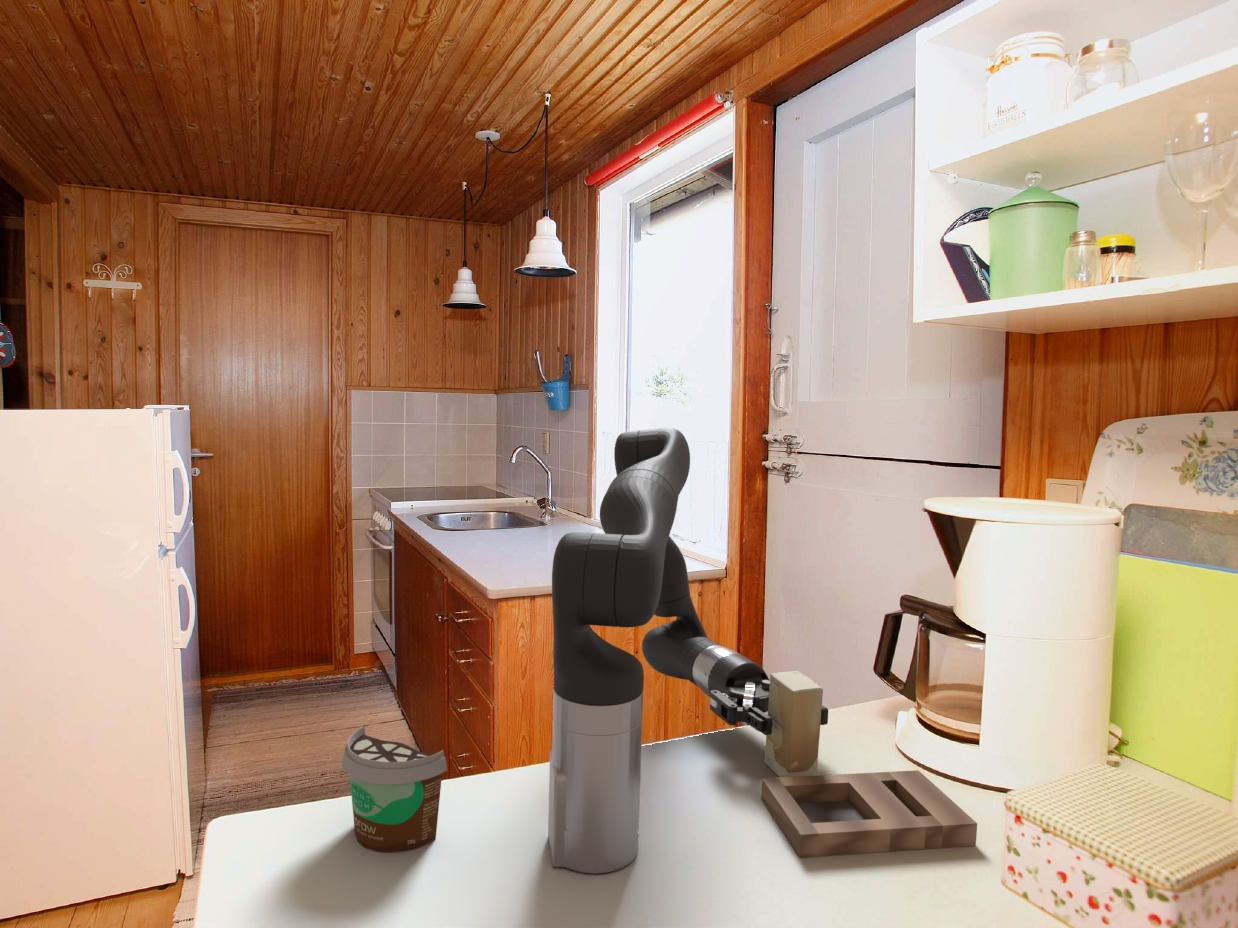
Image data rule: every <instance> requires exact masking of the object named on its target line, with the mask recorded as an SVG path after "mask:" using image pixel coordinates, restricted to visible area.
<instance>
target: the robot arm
mask: <svg viewBox="0 0 1238 928" xmlns="http://www.w3.org/2000/svg"><path fill="white" fill-rule="evenodd" d="M613 453H614V456H613V457H614V458H613V459H614V467H615V473H616V477H614V479H613V480H612V481H611V483H610V484H609V486H608V487H607V490H606V492H605V494H604V496H603V498H602V500H601V503H600V507H599V521H600V525H601V528H602V530H603V532H604V533H600V532H599V533H597V532H594V533H592V532H569V533H565V534H564V535H563V536H562V537H561V538H560V539H559V540H558V542H557V544H556V547H555V551H554V554H553V560H552V570H551V598H552V599H551V600H552V621H553V622H552V625H553V626H552V627H553V628H552V629H553V632H552V633H553V657H552V658H553V696H552V697H553V698H552V699H553V700H552V701H553V702H552V703H553V704H552V706H553V707H552V739H551V741H552V742H551V744H552V746H551V748H552V749H551V750H550V752H549V773H548V774H549V780H548V781H549V783H548V788H549V789H548V820H547V823H548V825H547V826H548V829H547V831H548V832H547V836H548V837H547V838H548V845H549V852H550V859H551V866H552V867H553V868H567V869H569V870H572V871H575V872H578V873H585V874H586V873H587V874H605V873H610V872H615V871H617V870H620V869H623V868H624V867H626V866H628V865H629V864H631V863H632V862H633V861H634V860H635V858H636V857H637V855H638V851H639V837H640V809H641V808H640V803H641V778H642V777H641V775H642V774H641V773H642V772H641V771H642V770H641V767H642V740H643V739H642V737H643V712H644V711H643V708H644V707H643V705H644V684H645V682H644V681H645V675H644V674H645V672H644V666H643V664H642V662H641V661H640V660H639V659H638V657H636V656H635V655H633V654H632V653H630V652H628V651H626V650H623V649H622V648H620V647H618V646H616V645H613V644H612V643H609V641H606V639H603V638H602V637H601V636H600V635H598V633H596V632H595V630H594V629H593V628H592V627H591V626H599V627H600V626H601V627H613V628H618V627H619V628H637V627H642V626H645V625H646V624H648V623H649V622H650V620H652V618H653V617H654V616H655V617H660V618H676V619H675V620H673V621H669V622H667V623H665V624H661V625H660V626H656V627H654V628H651V629H650V630H648V631H647V632H646V633H645V634H644V637H643V639H642V642H641V648H642V654H643V657H644V660H646V662H647V664H648V665H649V666H650V667H651V668H652V669H653V670H655V672H657V673H660V674H662V675H664V676H667V677H672V678H676V679H680V680H686V681H690V682H691V683H692V684H693V685H695V686H696V687H698V688H699V689H700V690H701V691H702V693H704V694H705V695H706V696H707V697H709V698H710V701H709V710H710V711H711V712H713V713H714V714H715V715H716V716H717V717H719V718H720V720H722V721H723V722H725V723H726V724H727V725H729V726H737V724H738V722H740V723H741V725H743V726H750V727H752V728H753V729H754V730H756V731H757V732H760V733H761V734H762V735H764V736H766V735H770V734H772V718H771V717H770V716H768V714H767V713H768V703H769V688H770V677H768V675H767V672H766V671H765V670H764V669H763V667H762V666H761V665H759V664H758V663H756V662H755V661H752V660H751V659H749V658H747V657H746V656H744V655H743V654H740V653H738V652H737V651H735V650H733V649H732V648H731V649H730V648H729V647H725V646H722V645H721V644H719V643H717V642H716V641H714V640H713V639H711V638H709V637H708V636H707V635H708V634H707V633H706V630H705V628H704V625H703V624H702V622H701V620H700V617H699V616H698V613H697V610H696V608H695V606H694V602H693V600H692V596H691V591H690V583H689V576H688V569H687V568H688V567H687V564H686V560H685V556H684V555H683V553H682V551H681V550H680V548H679V547H678V544H676V543H675V541H674V540H673V538H672V537H671V536H670V534H671V530H672V528H673V525H674V522H675V518H676V515H677V514H676V513H677V509H678V501H679V497H680V493H681V492H682V490H683V489H684V487H685V484H686V482H687V480H688V476H689V475H690V474H689V473H690V467H691V453H690V446H689V443H688V441H687V439H686V437H685V436H684V434H683V433H682V431H680V430H678V429H676V428H674V427H673V428H672V427H660V428H653V429H642V430H634V431H633V430H632V431H626V432H625V431H623V432H621V433H620V434H619V435H618V436H617V438H616V439H615V444H614V451H613ZM828 720H829V709H828V707H826V706H825V705H824V704H822V709H821V723H820V726H825V725H828Z"/></svg>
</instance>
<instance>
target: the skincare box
mask: <svg viewBox="0 0 1238 928" xmlns="http://www.w3.org/2000/svg"><path fill="white" fill-rule="evenodd" d="M769 680H770V688H769V703H768V712H767V715H768V716H770V717H771V718H772V734H770V735H765V748H764V749H765V750H764V763H765V764H766V765H767V766H768V767H769V768H770V769H771V770H772V771H773V772H774V773H775V774H776V775H777V776H778V778H780V777H799V776H818V775H817V773H818V762H819V761H818V760H819V748H820V747H819V745H820V734H821V733H820V732H821V725H820V723H821V709H822V705H823V695H824V693H823V692H824V688H823V687H822V686H820V685H819V684H818V683H816V682H815V681H814V680H813V679H811V678H810V677H808V676H807V675H805V674H804V673H802V672H801V671H800V670H793V671H792V670H791V671H780V672H771V673H770V674H769Z"/></svg>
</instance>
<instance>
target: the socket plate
mask: <svg viewBox="0 0 1238 928" xmlns="http://www.w3.org/2000/svg"><path fill="white" fill-rule="evenodd" d="M760 790H761V791H760V792H761V793H760V799H761V800H762V802H763V805H764V806H765V807H766V808H767V810H768V811H769V813H770V815H771V816H772V817H773V819H774V821H775V822H776V824H777V825H778V827H779V828H780V830H781V831H782V834H784V836H785V838H786V840H787V841H788V842H789V844H790V845H791V847H792V848H793V849H794V851H795V853H796V854H797V856H798V857H799V858H801V859H802V858H811V857H816V858H817V857H826V856H827V857H828V856H829V857H830V856H841V855H843V856H844V855H858V854H873V853H884V852H886V853H887V852H901V851H903V852H904V851H915V850H916V851H917V850H929V849H930V850H931V849H943V848H944V849H946V848H956V847H957V848H958V847H971V846H974V847H975V846H977V835H978V834H977V832H978V831H977V830H978V823H977V822H976V821H975V820H974V819H973V817H971V816H970V815H969V814H968V813H966V812H965V811H964V810H963V809H962V807H960V806H959V805H958V804H957V803H955V802H954V801H953V800H952V799H951V798H950V797H949V796H948V795H947V794H946V793H944V792H943V791H942V790H941V789H940V788H939V787H938V786H936V785H935V784H934V783H933V782H932V781H931V780H930V779H929V778H928V777H926V776H925V775H924V773H922V772H921V771H920V770H917V769H916V770H901V771H900V770H899V771H897V770H896V771H882V772H881V771H880V772H862V773H844V774H843V773H842V774H841V773H840V774H825V775H823V774H821V775H819V774H818V775H817V776H799V777H763V778H761V789H760Z"/></svg>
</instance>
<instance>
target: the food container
mask: <svg viewBox="0 0 1238 928" xmlns="http://www.w3.org/2000/svg"><path fill="white" fill-rule="evenodd" d="M344 748H345V749H344V751H343V755H342V756H343V757H342V761H341V764H342V765H341V767H342V769H343V770H344V772H345V773H346V774H347V775H349V781H350V782H349V784H350V793H351V794H350V795H351V804H352V814H353V815H352V816H353V826H354V835H355V838H356V841H357V843H358V844H359V845H361V846H362V847H363V848H365V849H366V850H370V851H372V852H376V853H384V854H385V853H386V854H387V853H388V854H389V853H390V854H393V853H395V854H396V853H402V852H403V853H405V852H408V851H412V850H416V849H419V848H422V847H424V846H427V845H428V844H430V843H432V842H434V841H435V840H436V839H437V838H436V837H437V829H438V828H437V827H438V820H439V810H440V809H439V808H440V800H441V789H442V788H441V787H442V778H443V773H446V772H447V771H448V766H447V758H446V756H445V755H444V754H445V752H444V751H445V750H441V751H438V752H437V753H434V754H428V753H425V752H422V751H419V750H417V749H415V748H412V747H411V746H409V745H407V744H405V743H403V742H398V741H390V740H382V739H379V738H376V737H373V736H369V735H367V734H366V729H365V726H361V727H359V728H358V729H357V730H356V731H354V732H352V734H351V735H350V736H349V738H348V740H347V743H346V745H345V747H344Z"/></svg>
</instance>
